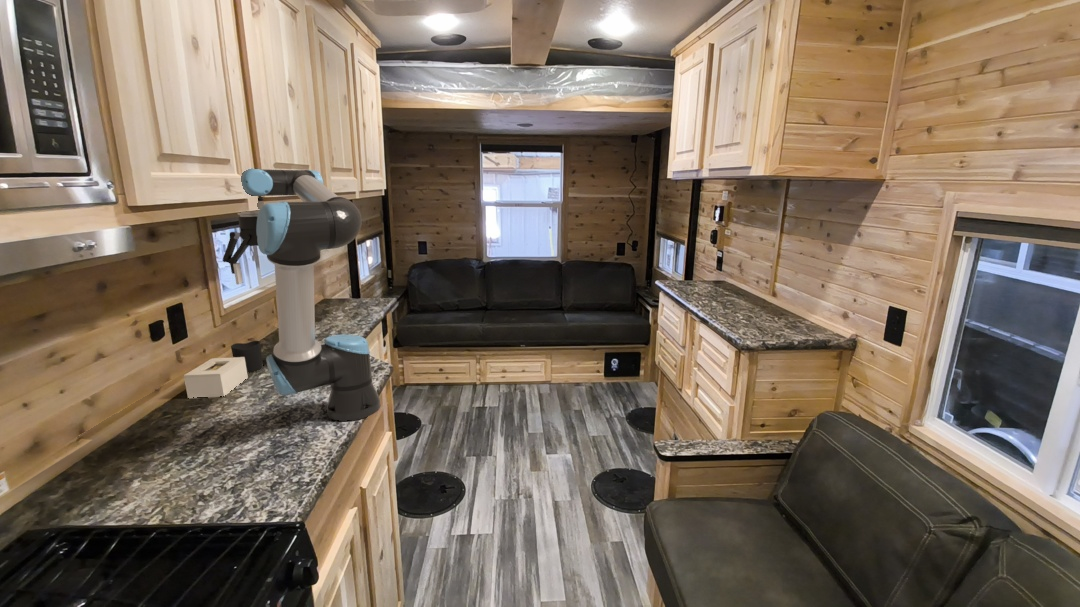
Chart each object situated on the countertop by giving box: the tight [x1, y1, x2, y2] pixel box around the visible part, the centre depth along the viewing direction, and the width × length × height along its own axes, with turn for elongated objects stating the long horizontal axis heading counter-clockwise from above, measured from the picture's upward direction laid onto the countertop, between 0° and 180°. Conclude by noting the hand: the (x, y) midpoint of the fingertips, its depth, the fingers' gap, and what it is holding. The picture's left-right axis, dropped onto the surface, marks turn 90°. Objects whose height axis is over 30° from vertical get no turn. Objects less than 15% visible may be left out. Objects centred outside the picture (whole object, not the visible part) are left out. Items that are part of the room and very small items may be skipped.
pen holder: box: [230, 340, 264, 374], centre depth 177 cm, size 9×9×10 cm
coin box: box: [183, 356, 249, 399], centre depth 161 cm, size 16×11×8 cm
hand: (262, 283), depth 151 cm, fingers open, 13 cm apart
